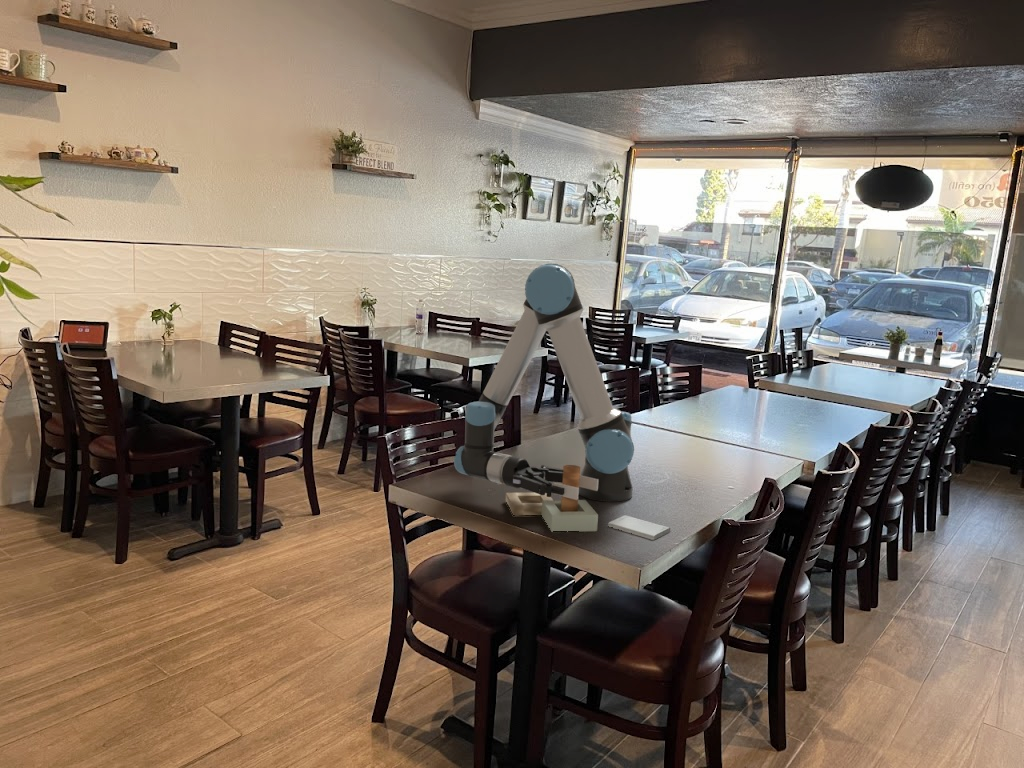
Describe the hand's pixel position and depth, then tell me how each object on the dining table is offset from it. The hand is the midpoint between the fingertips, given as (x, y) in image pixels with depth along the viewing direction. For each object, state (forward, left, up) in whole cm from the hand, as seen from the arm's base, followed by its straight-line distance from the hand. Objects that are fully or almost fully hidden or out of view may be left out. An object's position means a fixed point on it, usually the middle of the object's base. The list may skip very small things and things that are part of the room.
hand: (587, 489), depth 184 cm
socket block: (+3, -3, -9) cm, 11 cm away
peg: (+3, -3, -9) cm, 11 cm away
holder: (+10, -14, -9) cm, 20 cm away
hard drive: (-13, +1, -10) cm, 17 cm away
